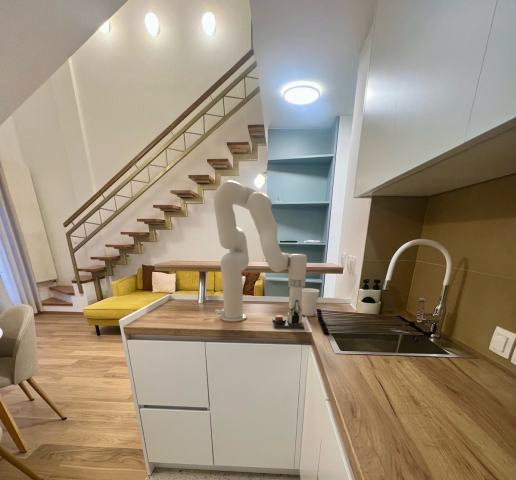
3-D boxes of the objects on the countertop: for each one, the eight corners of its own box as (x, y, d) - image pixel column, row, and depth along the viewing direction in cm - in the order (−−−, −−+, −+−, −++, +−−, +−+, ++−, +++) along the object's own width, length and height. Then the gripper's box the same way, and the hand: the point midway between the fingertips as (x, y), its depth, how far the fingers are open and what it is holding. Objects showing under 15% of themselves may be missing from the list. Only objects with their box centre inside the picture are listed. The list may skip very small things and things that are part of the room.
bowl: (287, 324, 128) (288, 314, 126) (286, 320, 134) (287, 310, 133) (302, 324, 128) (303, 315, 126) (300, 320, 134) (301, 311, 133)
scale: (272, 328, 127) (273, 322, 126) (272, 321, 137) (272, 315, 136) (303, 329, 127) (304, 322, 126) (300, 321, 137) (301, 315, 136)
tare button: (275, 320, 129) (276, 316, 129) (275, 318, 132) (275, 314, 132) (282, 320, 129) (282, 317, 129) (282, 318, 132) (282, 315, 132)
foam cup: (316, 312, 153) (318, 288, 148) (317, 317, 145) (320, 292, 140) (298, 311, 154) (300, 288, 149) (299, 316, 145) (301, 291, 140)
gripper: (286, 279, 132) (285, 315, 139) (289, 286, 116) (287, 327, 123) (302, 279, 132) (300, 316, 139) (307, 286, 116) (304, 327, 123)
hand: (294, 320), depth 131 cm, fingers closed on bowl, 6 cm apart
